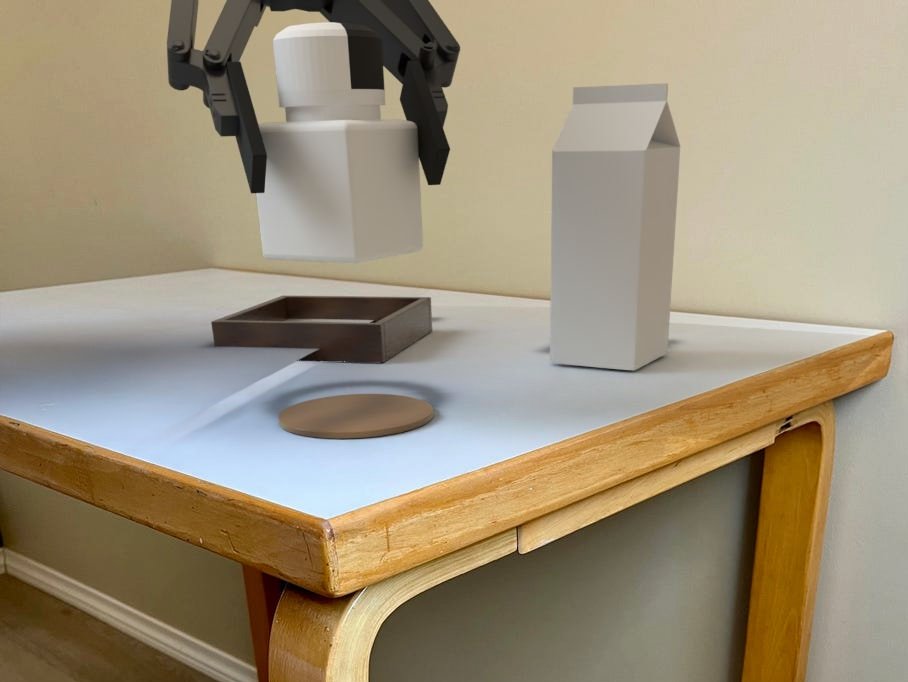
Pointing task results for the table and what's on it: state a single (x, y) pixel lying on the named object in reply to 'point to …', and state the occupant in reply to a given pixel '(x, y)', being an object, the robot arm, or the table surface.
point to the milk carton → (613, 227)
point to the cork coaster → (356, 416)
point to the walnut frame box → (329, 326)
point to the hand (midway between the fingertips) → (351, 171)
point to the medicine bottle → (337, 153)
